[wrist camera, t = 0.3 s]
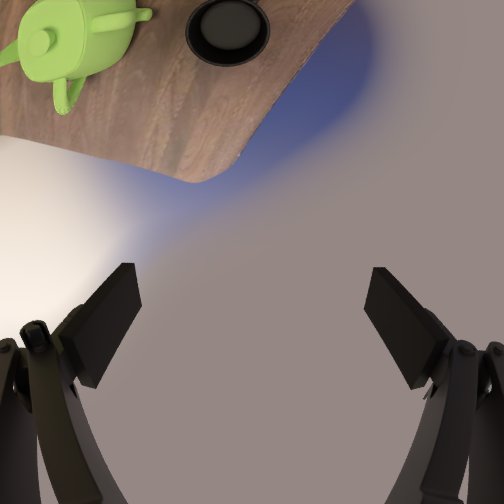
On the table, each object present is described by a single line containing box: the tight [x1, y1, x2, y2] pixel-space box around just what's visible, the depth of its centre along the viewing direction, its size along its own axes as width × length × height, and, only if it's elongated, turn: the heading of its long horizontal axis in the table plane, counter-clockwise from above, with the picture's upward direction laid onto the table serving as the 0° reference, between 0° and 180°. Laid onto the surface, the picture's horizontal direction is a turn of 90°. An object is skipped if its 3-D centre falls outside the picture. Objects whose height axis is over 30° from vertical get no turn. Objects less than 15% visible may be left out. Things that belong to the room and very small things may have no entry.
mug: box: [185, 0, 270, 67], centre depth 24 cm, size 9×12×9 cm
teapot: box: [0, 0, 152, 115], centre depth 18 cm, size 19×20×14 cm
